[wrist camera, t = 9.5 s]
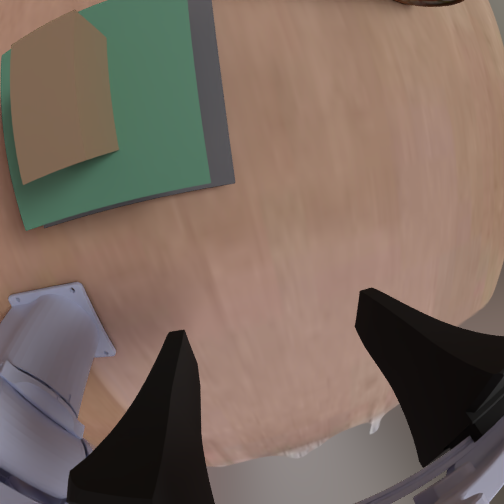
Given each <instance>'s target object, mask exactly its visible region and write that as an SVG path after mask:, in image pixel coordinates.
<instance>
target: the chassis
mask: <svg viewBox="0 0 504 504" xmlns="http://www.w3.org/2000/svg"><path fill="white" fill-rule="evenodd" d="M187 1H188V12H189V22H190V31H191V40H192V49H193V58H194V66H195V74H196V82H197V90H198V98H199V105H200V112H201V119H202V126H203V133H204V140H205V147H206V153H207V160H208V166H209V173H210V179H211V183H209V184H204V185H198V186H193V187H188V188H183V189H178V190H173V191H168V192H164V193H159V194H155V195H150V196H146V197H141V198H137V199H133V200H129V201H125V202H121V203H117V204H113V205H109V206H105V207H102V208H98V209H94V210H91V211H87V212H84V213H80V214H77V215H74V216H70V217H67V218H64V219H61V220H57V221H54V222H51V223H48V224H45V225H44V228H47V227H50V226H53V225H57V224H60V223H63V222H66V221H70V220H73V219H77V218H80V217H83V216H87V215H91V214H94V213H98V212H102V211H105V210H109V209H113V208H117V207H121V206H125V205H129V204H133V203H137V202H142V201H146V200H150V199H155V198H159V197H164V196H169V195H174V194H178V193H183V192H188V191H194V190H199V189H204V188H210V187H215V186H221V185H227V184H233V183H235V177H234V169H233V162H232V155H231V147H230V140H229V133H228V125H227V118H226V110H225V103H224V95H223V87H222V80H221V72H220V64H219V56H218V49H217V41H216V33H215V25H214V17H213V8H212V0H187Z"/></svg>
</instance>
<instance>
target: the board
mask: <svg viewBox="0 0 504 504" xmlns="http://www.w3.org/2000/svg"><path fill="white" fill-rule="evenodd" d="M1 109H2V122H3V132H4V140H5V147H6V153H7V159H8V165H9V170H10V175H11V179H12V184H13V188H14V192H15V196H16V200H17V203H18V207H19V210H20V214H21V217H22V220H23V224H24V227H25V230H26V231H27V230H30V229H33V228H36V227H39V226H42V225H45V224H48V223H51V222H54V221H57V220H61V219H64V218H67V217H70V216H74V215H77V214H80V213H84V212H87V211H91V210H94V209H98V208H102V207H105V206H109V205H113V204H117V203H121V202H125V201H129V200H133V199H137V198H141V197H146V196H150V195H155V194H159V193H164V192H168V191H173V190H178V189H183V188H188V187H193V186H198V185H204V184H209V183H211V179H210V173H209V166H208V160H207V153H206V147H205V140H204V133H203V126H202V119H201V112H200V105H199V98H198V90H197V82H196V74H195V66H194V58H193V49H192V40H191V31H190V22H189V12H188V1H187V0H107V1H104V2H102V3H99V4H96V5H94V6H91V7H89V8H86V9H84V10H81V11H79V12H77V11H76V10H73V11H71V12H69V13H67V14H64V15H62V16H60V17H58V18H56V19H54V20H52V21H51V22H49V23H47V24H45V25H43V26H41V27H40V28H38V29H36V30H34V31H33V32H31V33H29V34H28V35H26V36H24V37H23V38H21V39H20V40H18V41H17V42H15V43H14V44H12V45H11V49H10V50H9V51H7V52H6V53H5V54H3V55H2V59H1Z"/></svg>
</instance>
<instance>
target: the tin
mask: <svg viewBox="0 0 504 504" xmlns="http://www.w3.org/2000/svg"><path fill="white" fill-rule="evenodd" d="M394 1H397V2H400V3H404V4H409V5H415V6H424V7H440V6H449V5H454V4H457V3H460V2H462V1H464V0H394Z"/></svg>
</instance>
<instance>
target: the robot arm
mask: <svg viewBox="0 0 504 504" xmlns="http://www.w3.org/2000/svg"><path fill="white" fill-rule="evenodd" d="M72 288H73V289H74V290H75V291H74V290H72ZM8 299H9V302H10V304H11V306H12V308H11V309H10V310H9V312H8V313H7V314H6V316H5V317H4V319H3V320H2V322H1V323H0V504H215V503H214V499H213V495H212V491H211V487H210V482H209V478H208V473H207V468H206V463H205V457H204V451H203V445H202V435H201V398H200V380H199V372H198V364H197V361H196V359H195V356H194V354H193V351H192V349H191V346H190V343H189V341H188V338H187V335H186V332H185V330H179V331H172V332H169V333H168V335H167V337H166V339H165V342H164V344H163V346H162V348H161V351H160V353H159V355H158V357H157V359H156V361H155V363H154V365H153V367H152V369H151V371H150V373H149V375H148V377H147V379H146V381H145V383H144V384H143V386H142V388H141V390H140V391H139V393H138V395H137V396H136V398H135V400H134V401H133V403H132V404H131V406H130V407H129V409H128V410H127V412H126V413H125V415H124V416H123V417H122V418H121V420H120V421H119V422H118V424H117V425H116V426H115V428H114V429H113V430H112V431H111V432H110V434H109V435H108V436H107V437H106V438H105V439H104V440H103V441H102V442H101V443H100V444H99V445H98V446H97V447H96V449H95V450H94V451H93V450H92V448H91V446H90V445H89V443H88V442H87V441H86V440H85V439H84V438H83V432H84V427H85V426H84V425H83V424H81V423H80V422H79V421H78V420H77V418H78V414H79V409H80V405H81V401H82V397H83V393H84V390H85V386H86V382H87V379H88V375H89V372H90V368H91V365H92V362H93V359H94V357H108V356H114V355H115V354H116V350H115V348H114V346H113V344H112V343H111V341H110V339H109V337H108V335H107V334H106V332H105V330H104V328H103V326H102V324H101V322H100V320H99V318H98V317H97V315H96V313H95V311H94V308H93V306H92V304H91V302H90V300H89V298H88V296H87V294H86V292H85V289H84V287H83V285H82V284H81V283H79V282H73V283H68V284H63V285H58V286H52V287H47V288H42V289H37V290H32V291H27V292H22V293H17V294H12V295H10V296H9V298H8ZM355 328H356V330H357V333H358V335H359V337H360V339H361V341H362V343H363V345H364V346H365V348H366V349H367V351H368V352H369V354H370V355H371V357H372V358H373V360H374V361H375V363H376V364H377V366H378V367H379V369H380V370H381V372H382V373H383V375H384V376H385V378H386V379H387V381H388V382H389V384H390V385H391V387H392V389H393V391H394V393H395V395H396V397H397V399H398V401H399V403H400V405H401V408H402V410H403V412H404V415H405V417H406V419H407V422H408V425H409V428H410V430H411V433H412V436H413V439H414V443H415V446H416V450H417V454H418V458H419V462H420V463H421V465H422V467H423V468H424V467H425V468H424V469H422V470H420V471H419V472H417V473H415V474H414V475H412V476H410V477H409V478H407V479H405V480H403V481H401V482H399V483H398V484H396V485H394V486H392V487H390V488H388V489H386V490H384V491H382V492H380V493H378V494H375V495H373V496H371V497H369V498H367V499H364V500H362V501H360V502H357V503H355V504H391V503H393V502H395V501H397V500H399V499H401V498H402V497H404V496H406V495H408V494H410V493H411V492H413V491H415V490H416V489H418V488H420V487H421V486H423V485H424V484H426V483H428V482H429V481H431V480H432V479H434V478H435V477H436V476H438V475H440V474H441V473H442V472H444V471H445V470H447V469H448V470H447V474H446V476H445V477H444V478H442V479H441V480H439V481H438V482H436V483H434V484H433V485H431V486H430V487H428V488H427V489H425V490H424V491H422V492H420V493H419V494H417V495H416V496H414V498H413V499H414V502H415V504H489V502H490V501H491V499H492V498H493V497H494V496H495V495H496V493H497V492H498V491H499V490H500V488H501V487H502V486H503V485H504V336H495V335H488V334H483V333H478V332H474V331H470V330H466V329H462V328H459V327H456V326H453V325H450V324H448V323H445V322H442V321H440V320H437V319H435V318H433V317H430V316H428V315H426V314H424V313H422V312H420V311H418V310H416V309H414V308H412V307H410V306H408V305H406V304H404V303H402V302H400V301H398V300H396V299H394V298H392V297H390V296H389V295H387V294H385V293H383V292H381V291H379V290H377V289H374V288H368V289H365V290H361V291H360V294H359V302H358V309H357V316H356V323H355ZM449 450H450V451H449ZM448 451H449V452H448ZM445 453H446V454H445ZM444 454H445V455H444ZM442 455H443V456H442ZM441 456H442V457H441ZM439 457H440V458H439ZM438 458H439V459H438ZM436 459H437V460H436ZM435 460H436V461H435ZM433 461H434V462H433ZM432 462H433V463H432ZM430 463H431V464H430ZM429 464H430V465H429ZM427 465H428V466H427ZM426 466H427V467H426Z"/></svg>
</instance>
